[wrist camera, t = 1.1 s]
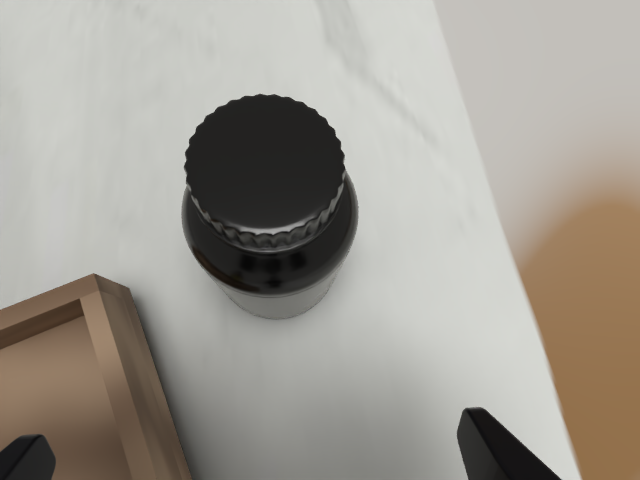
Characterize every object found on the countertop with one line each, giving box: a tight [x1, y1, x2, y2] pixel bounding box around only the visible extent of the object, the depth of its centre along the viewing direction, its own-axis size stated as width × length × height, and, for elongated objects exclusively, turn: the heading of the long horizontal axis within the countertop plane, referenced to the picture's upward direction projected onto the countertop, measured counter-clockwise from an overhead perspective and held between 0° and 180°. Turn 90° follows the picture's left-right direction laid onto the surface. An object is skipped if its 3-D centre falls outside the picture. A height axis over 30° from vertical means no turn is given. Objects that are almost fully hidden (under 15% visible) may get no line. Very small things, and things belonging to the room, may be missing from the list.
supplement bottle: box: [182, 94, 358, 319], centre depth 17 cm, size 7×7×12 cm
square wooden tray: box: [0, 273, 192, 480], centre depth 16 cm, size 13×13×6 cm
